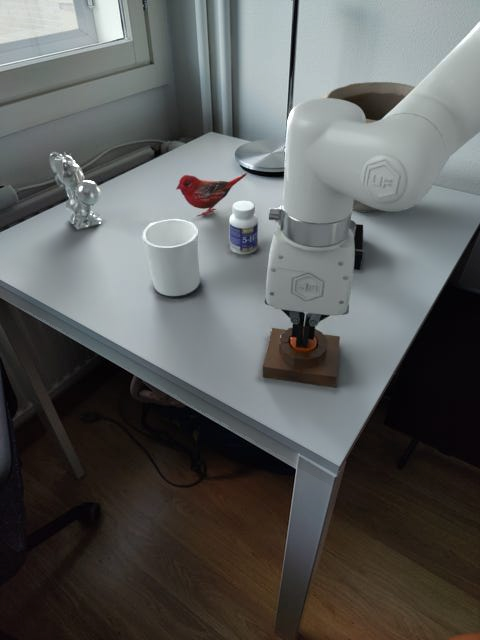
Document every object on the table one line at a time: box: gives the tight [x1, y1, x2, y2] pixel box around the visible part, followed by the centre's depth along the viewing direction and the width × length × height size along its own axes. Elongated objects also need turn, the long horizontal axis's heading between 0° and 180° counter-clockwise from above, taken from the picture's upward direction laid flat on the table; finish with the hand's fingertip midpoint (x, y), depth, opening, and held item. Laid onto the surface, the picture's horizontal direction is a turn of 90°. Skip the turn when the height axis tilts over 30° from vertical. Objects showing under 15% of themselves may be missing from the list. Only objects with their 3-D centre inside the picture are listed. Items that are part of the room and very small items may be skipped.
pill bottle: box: [229, 200, 259, 255], centre depth 86 cm, size 5×5×9 cm
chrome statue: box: [48, 151, 103, 230], centre depth 92 cm, size 15×6×15 cm, turn 39°
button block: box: [262, 327, 341, 388], centre depth 65 cm, size 10×8×4 cm
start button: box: [290, 332, 317, 353], centre depth 64 cm, size 4×4×2 cm
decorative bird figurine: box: [175, 173, 248, 217], centre depth 97 cm, size 3×18×10 cm, turn 127°
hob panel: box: [354, 223, 365, 271], centre depth 86 cm, size 14×14×3 cm
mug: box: [141, 218, 201, 299], centre depth 78 cm, size 11×9×10 cm
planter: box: [323, 81, 416, 213], centre depth 94 cm, size 25×24×22 cm
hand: (302, 340), depth 63 cm, fingers closed
